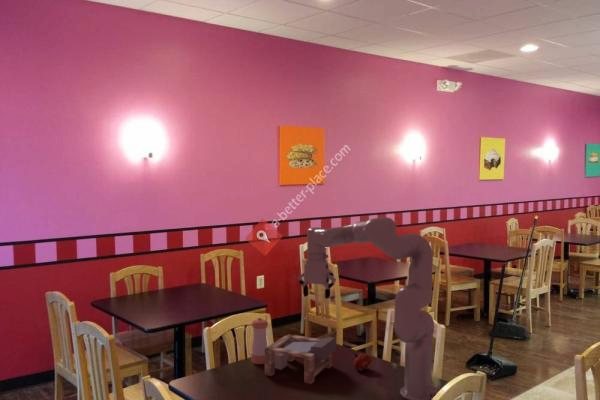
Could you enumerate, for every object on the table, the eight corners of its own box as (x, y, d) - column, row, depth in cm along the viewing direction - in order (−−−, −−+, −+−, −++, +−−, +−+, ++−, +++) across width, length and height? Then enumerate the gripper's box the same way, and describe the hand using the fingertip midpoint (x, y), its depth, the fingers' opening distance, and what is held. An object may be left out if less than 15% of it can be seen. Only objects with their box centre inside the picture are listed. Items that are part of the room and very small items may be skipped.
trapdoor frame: (331, 366, 226) (331, 340, 226) (311, 384, 208) (311, 356, 207) (288, 358, 235) (288, 334, 235) (264, 374, 217) (264, 348, 216)
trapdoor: (336, 349, 221) (335, 337, 221) (323, 360, 209) (321, 347, 209) (292, 348, 230) (291, 337, 230) (277, 358, 218) (275, 346, 218)
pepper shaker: (270, 363, 230) (270, 319, 229) (254, 365, 227) (254, 321, 226) (265, 357, 237) (265, 314, 236) (249, 359, 234) (249, 316, 233)
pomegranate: (372, 373, 224) (356, 355, 228) (381, 363, 220) (364, 345, 225) (362, 380, 219) (346, 362, 223) (370, 370, 215) (354, 351, 219)
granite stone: (276, 350, 229) (276, 364, 229) (270, 353, 224) (270, 367, 225) (286, 352, 226) (286, 365, 227) (281, 355, 222) (281, 369, 222)
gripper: (338, 256, 225) (338, 296, 225) (301, 254, 232) (301, 293, 233) (332, 259, 218) (332, 300, 219) (293, 257, 225) (294, 297, 226)
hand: (316, 297), depth 226 cm, fingers open, 9 cm apart
